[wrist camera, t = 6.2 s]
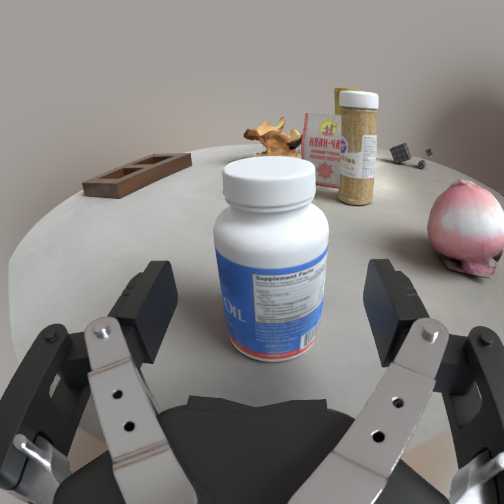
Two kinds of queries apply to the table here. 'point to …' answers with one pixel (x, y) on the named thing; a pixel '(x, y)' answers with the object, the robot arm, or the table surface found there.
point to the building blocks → (405, 154)
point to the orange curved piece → (275, 139)
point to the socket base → (135, 175)
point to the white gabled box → (323, 147)
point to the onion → (467, 228)
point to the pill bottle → (271, 256)
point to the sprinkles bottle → (357, 146)
